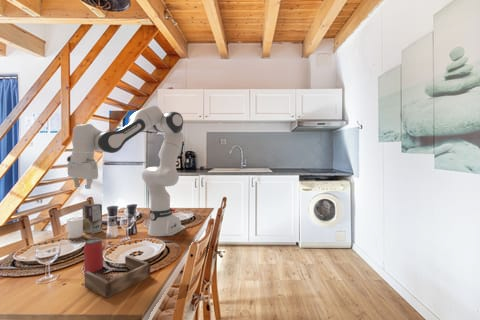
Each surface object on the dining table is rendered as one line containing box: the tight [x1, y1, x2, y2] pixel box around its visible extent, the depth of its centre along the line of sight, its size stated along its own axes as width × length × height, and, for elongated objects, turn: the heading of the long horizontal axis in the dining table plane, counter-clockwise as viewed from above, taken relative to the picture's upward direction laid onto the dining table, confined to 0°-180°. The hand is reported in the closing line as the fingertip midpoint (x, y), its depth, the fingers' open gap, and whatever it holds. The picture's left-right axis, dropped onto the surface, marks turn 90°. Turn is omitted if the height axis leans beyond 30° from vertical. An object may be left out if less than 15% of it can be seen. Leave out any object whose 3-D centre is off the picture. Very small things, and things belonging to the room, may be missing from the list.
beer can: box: [83, 238, 104, 273], centre depth 105 cm, size 7×7×12 cm
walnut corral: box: [84, 255, 151, 299], centre depth 96 cm, size 17×14×5 cm
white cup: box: [66, 216, 84, 239], centre depth 144 cm, size 8×8×10 cm
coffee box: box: [81, 202, 103, 234], centre depth 153 cm, size 9×6×16 cm
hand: (82, 187), depth 120 cm, fingers open, 8 cm apart
